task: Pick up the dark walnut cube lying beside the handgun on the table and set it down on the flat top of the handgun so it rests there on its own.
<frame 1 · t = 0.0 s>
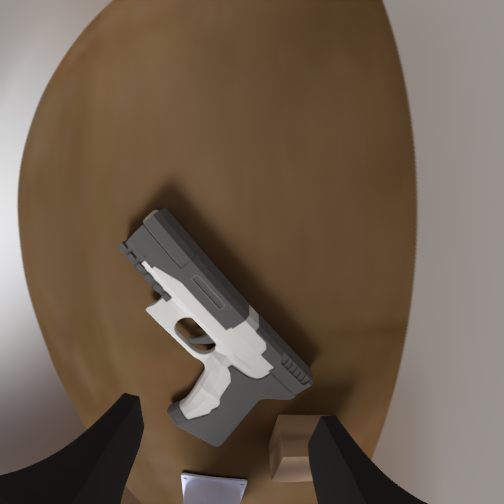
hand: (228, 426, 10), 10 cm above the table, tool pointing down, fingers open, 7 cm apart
handgun: (191, 344, 21), on the table
walnut cube: (298, 429, 23), on the table
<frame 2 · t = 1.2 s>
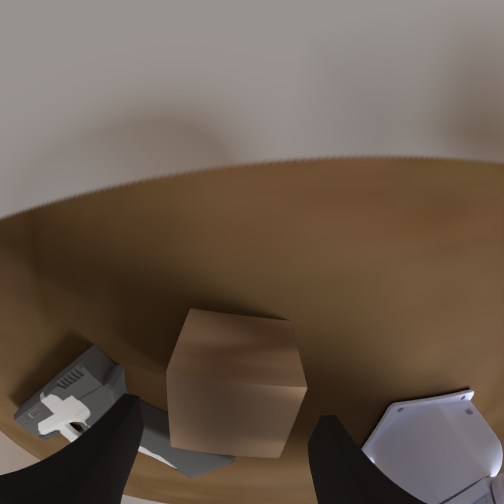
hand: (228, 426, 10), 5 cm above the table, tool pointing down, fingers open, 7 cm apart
handgun: (109, 426, 18), on the table
walnut cube: (234, 354, 15), on the table
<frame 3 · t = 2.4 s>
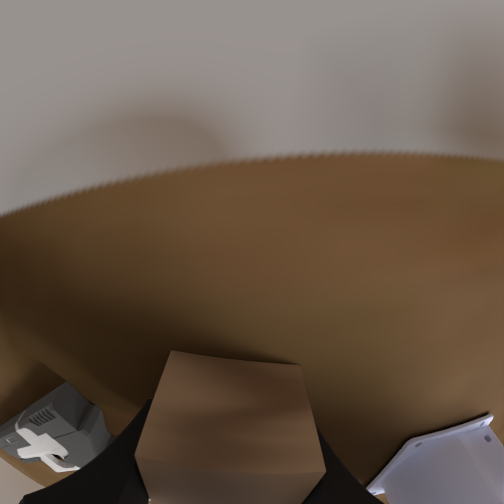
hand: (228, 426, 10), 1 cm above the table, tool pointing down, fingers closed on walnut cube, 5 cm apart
handgun: (91, 457, 14), on the table
walnut cube: (229, 402, 11), on the table, touching gripper
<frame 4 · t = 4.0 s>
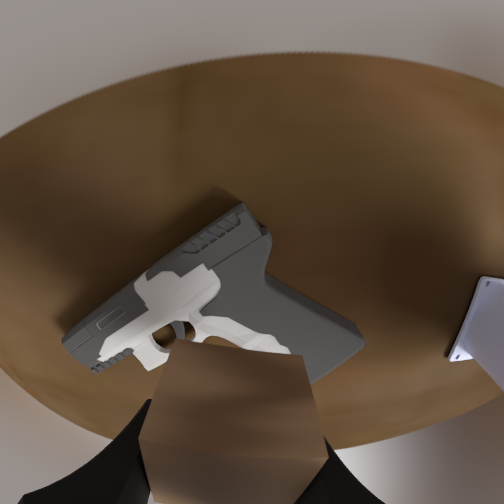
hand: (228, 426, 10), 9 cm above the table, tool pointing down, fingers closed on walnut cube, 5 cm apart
handgun: (205, 335, 19), on the table
walnut cube: (231, 392, 11), point 7 cm above the table, touching gripper
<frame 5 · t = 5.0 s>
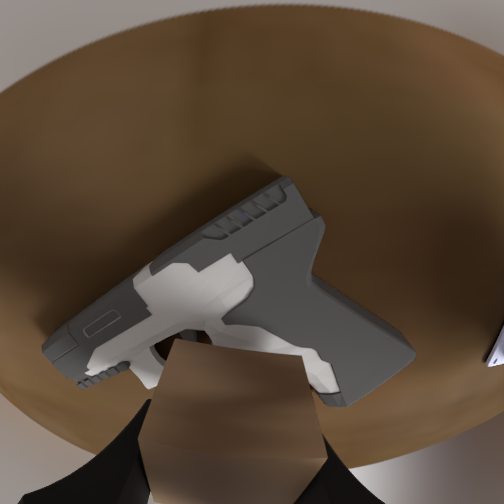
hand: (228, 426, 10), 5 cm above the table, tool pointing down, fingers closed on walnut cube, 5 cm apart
handgun: (221, 346, 15), on the table
walnut cube: (231, 393, 11), point 3 cm above the table, touching gripper
when the fingers open (5 cm above the table, at t = 5.7 s): walnut cube drops 1 cm, resting on handgun.
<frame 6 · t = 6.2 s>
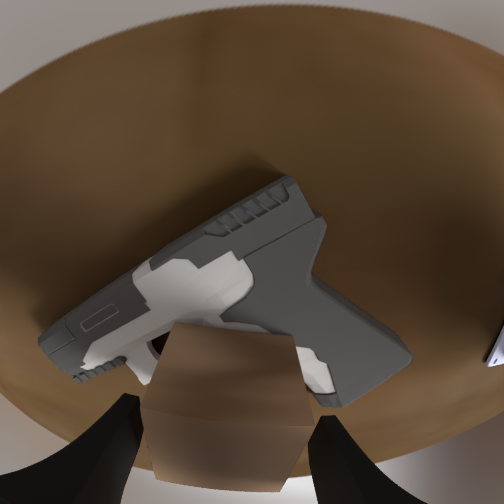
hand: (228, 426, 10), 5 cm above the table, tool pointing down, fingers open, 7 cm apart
handgun: (218, 344, 15), on the table, touching walnut cube
walnut cube: (228, 373, 12), point 2 cm above the table, touching handgun
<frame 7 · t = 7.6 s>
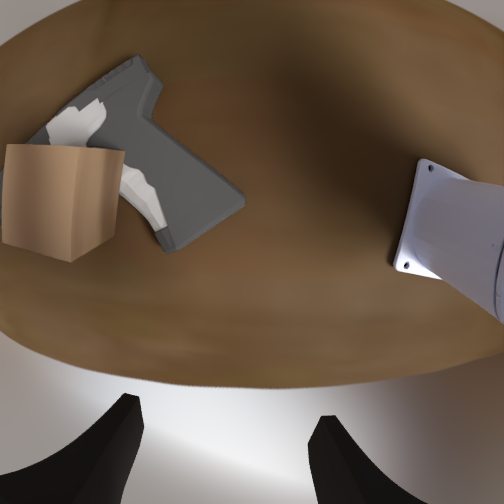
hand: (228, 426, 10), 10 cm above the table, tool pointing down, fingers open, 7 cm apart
handgun: (96, 191, 17), on the table, touching walnut cube
walnut cube: (84, 188, 15), point 2 cm above the table, touching handgun
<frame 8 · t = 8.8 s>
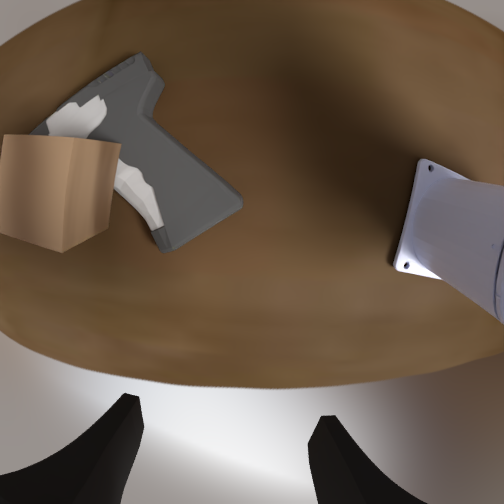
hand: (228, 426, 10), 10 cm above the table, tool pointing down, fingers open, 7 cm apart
handgun: (94, 188, 17), on the table, touching walnut cube
walnut cube: (79, 180, 14), point 2 cm above the table, touching handgun
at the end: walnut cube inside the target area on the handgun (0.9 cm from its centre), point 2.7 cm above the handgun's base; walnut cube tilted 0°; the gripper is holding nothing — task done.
